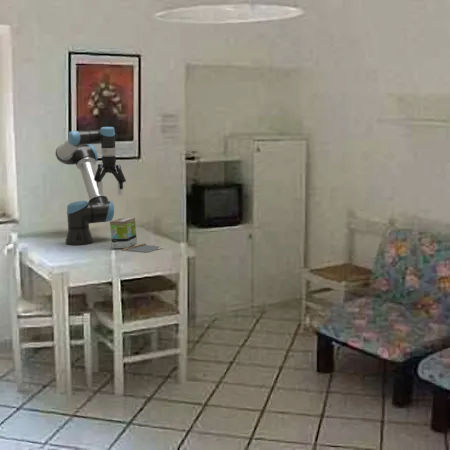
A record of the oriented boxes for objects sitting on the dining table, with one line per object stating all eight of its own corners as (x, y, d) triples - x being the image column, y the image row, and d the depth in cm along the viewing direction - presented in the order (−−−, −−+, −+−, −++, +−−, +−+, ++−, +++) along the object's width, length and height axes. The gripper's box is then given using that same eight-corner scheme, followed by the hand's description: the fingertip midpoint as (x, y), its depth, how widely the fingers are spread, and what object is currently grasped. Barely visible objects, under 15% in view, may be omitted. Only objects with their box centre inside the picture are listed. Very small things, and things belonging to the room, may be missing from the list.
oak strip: (121, 250, 406) (121, 249, 406) (143, 244, 421) (143, 243, 421) (124, 250, 405) (124, 249, 405) (145, 245, 420) (145, 243, 420)
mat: (125, 250, 406) (125, 250, 406) (145, 245, 419) (145, 245, 419) (146, 252, 398) (146, 252, 398) (165, 247, 411) (165, 247, 411)
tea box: (129, 247, 408) (126, 220, 407) (111, 248, 410) (108, 221, 408) (137, 243, 423) (135, 217, 421) (120, 244, 425) (117, 218, 423)
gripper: (86, 155, 417) (88, 193, 421) (122, 156, 405) (124, 196, 409) (95, 154, 424) (97, 192, 428) (131, 155, 411) (132, 194, 415)
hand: (110, 194), depth 418 cm, fingers open, 13 cm apart
